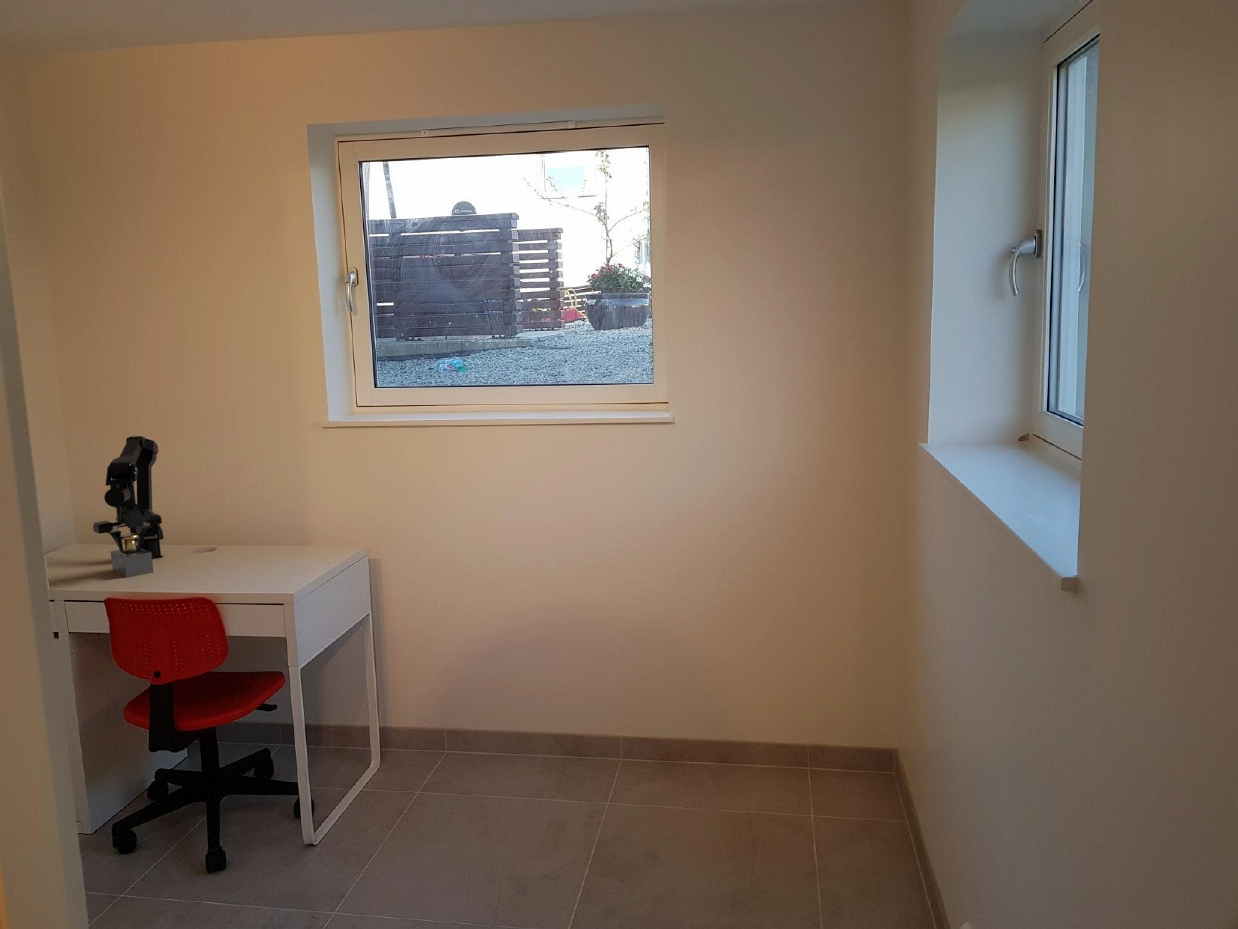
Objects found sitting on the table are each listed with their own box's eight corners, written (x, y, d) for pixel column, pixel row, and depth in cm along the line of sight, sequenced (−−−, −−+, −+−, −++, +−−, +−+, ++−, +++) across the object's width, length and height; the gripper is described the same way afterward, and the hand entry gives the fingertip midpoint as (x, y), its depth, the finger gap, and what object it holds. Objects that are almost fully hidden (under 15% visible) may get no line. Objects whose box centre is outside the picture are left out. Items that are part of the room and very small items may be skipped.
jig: (139, 566, 318) (137, 546, 317) (153, 572, 310) (151, 552, 309) (112, 571, 312) (110, 551, 312) (126, 577, 304) (124, 557, 303)
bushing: (137, 553, 314) (135, 532, 313) (144, 556, 310) (141, 534, 309) (118, 556, 310) (116, 535, 309) (125, 559, 306) (123, 538, 305)
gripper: (102, 509, 296) (108, 559, 298) (166, 499, 309) (171, 548, 311) (89, 504, 303) (95, 554, 306) (152, 495, 316) (157, 543, 319)
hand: (130, 550), depth 310 cm, fingers closed on bushing, 5 cm apart
